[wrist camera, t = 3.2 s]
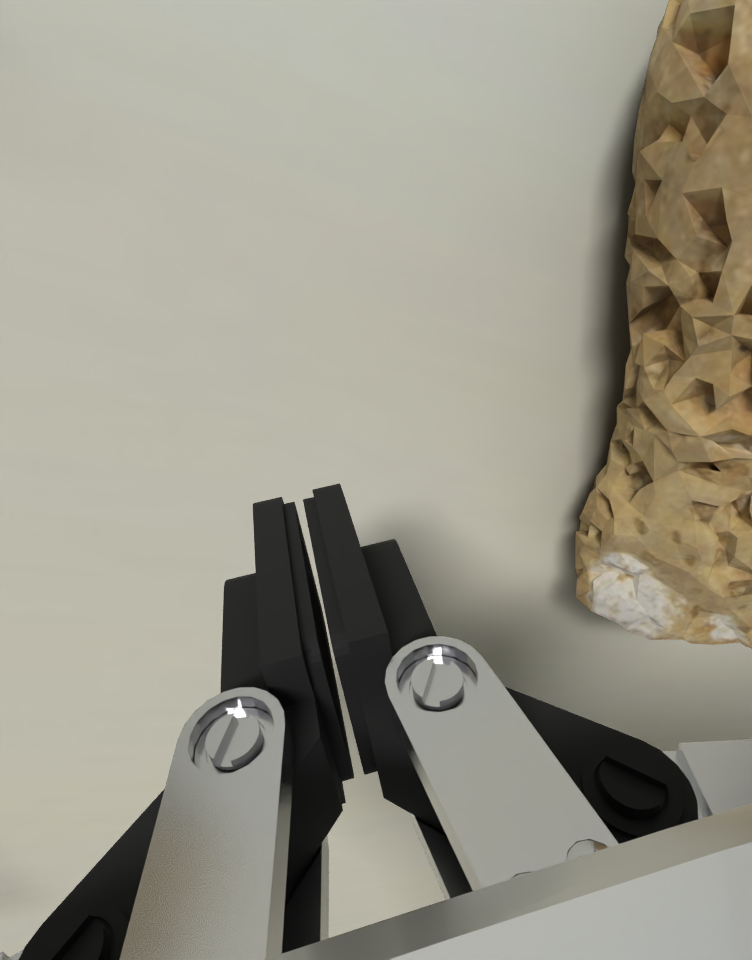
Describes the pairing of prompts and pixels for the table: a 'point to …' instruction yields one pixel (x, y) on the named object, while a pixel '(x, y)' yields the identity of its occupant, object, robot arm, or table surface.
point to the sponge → (684, 350)
